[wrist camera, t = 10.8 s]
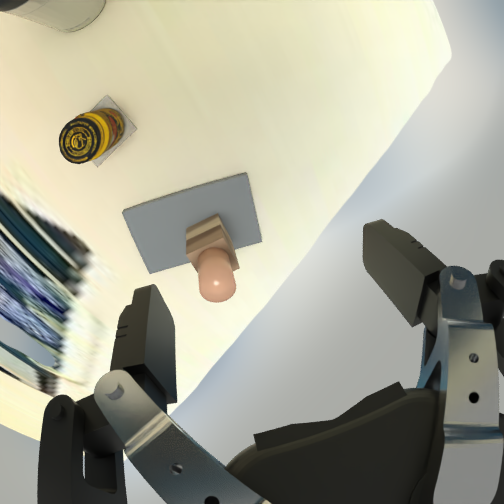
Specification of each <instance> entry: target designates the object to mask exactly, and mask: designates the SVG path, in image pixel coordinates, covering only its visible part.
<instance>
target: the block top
mask: <svg viewBox="0 0 504 504" xmlns="http://www.w3.org/2000/svg"><path fill="white" fill-rule="evenodd" d="M211 247H217V248H221V249H223V250H224V251H226V252H227V254H228V256H229V259H230V263H231V267H232V271H235V270H237V269H239V264H238V261H237V257H236V254H235V252H234V250H233V248H232V246H231V244H230V242H229V240H228V238H227V236H226V234H225V232H224V231H223V229H222V227H221V225H218V226H216V227H213V228H211V229H209V230H207V231H205V232H203V233H201V234H199V235H196V236H194V237H192V238H190V239H188V240H186V255H187V257H188V259H189V260H190V262H191V263H192V265H193V266H194V268H195V270H196V271H197V273H198V265H197V260H198V256H199V255H200V253H201V252H202V251H204V250H205V249H207V248H211Z"/></svg>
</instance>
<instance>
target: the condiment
mask: <svg viewBox="0 0 504 504" xmlns="http://www.w3.org/2000/svg"><path fill="white" fill-rule="evenodd" d="M135 130H137V128H136V127H135V126H134V125H133V124H132V122H131V121H130V120H129V119H128V118H127V117H126V115H125V114H124V113H123V112H122V111H121V110H120V109H119V108H118V106H117V105H116V104H115V103H114V102H113V101H112V100H111V99H110V97H109V96H108V95H106V96H105V97H104V98H103V99H102V100H101V101H100V102H99V103H98V104H97V105H96V106H95V107H94V108H93V109H92V110H91V111H90V112H87V113H83V114H80V115H78V116H77V117H76V118H74V119H73V120H71V121H70V122H68V123H67V124H66V125H65V127H64V128H63V129H62V131H61V133H60V136H59V147H60V152H61V154H62V155H63V156H64V158H65V159H66V160H68V161H69V162H71V163H76V164H81V163H85V162H88V161H92V162H93V163H94V164H95V165H96V166H97V167H98V166H99V165H100V164H101V163H102V162H103V161H104V160H105V159H106V158H107V157H108V156H109V155H110V154H111V153H112V152H113V151H114V150H115V149H116V148H117V147H118V146H119V145H120V144H121V143H123V142H124V141H125V140H126V139H127V138H128V137H129V136H130V135H131V134H132V133H133V132H134V131H135Z"/></svg>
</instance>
